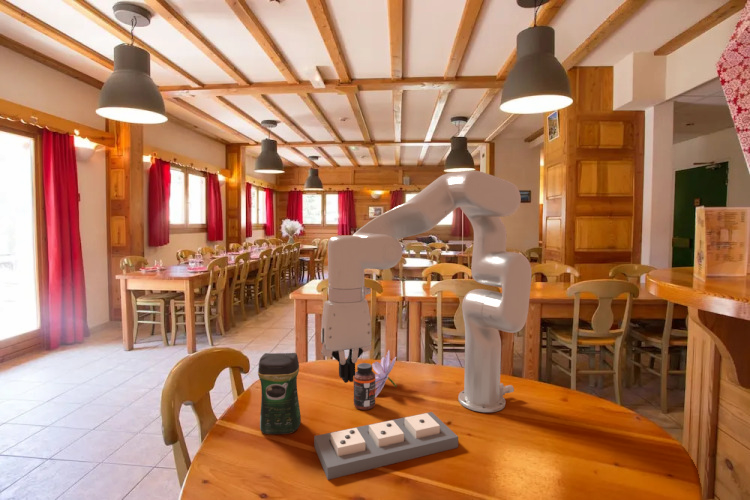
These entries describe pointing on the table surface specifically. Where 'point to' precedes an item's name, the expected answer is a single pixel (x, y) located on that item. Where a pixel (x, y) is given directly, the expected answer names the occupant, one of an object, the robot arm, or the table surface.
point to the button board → (382, 449)
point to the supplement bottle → (364, 387)
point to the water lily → (383, 372)
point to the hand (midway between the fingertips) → (347, 379)
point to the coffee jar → (279, 393)
